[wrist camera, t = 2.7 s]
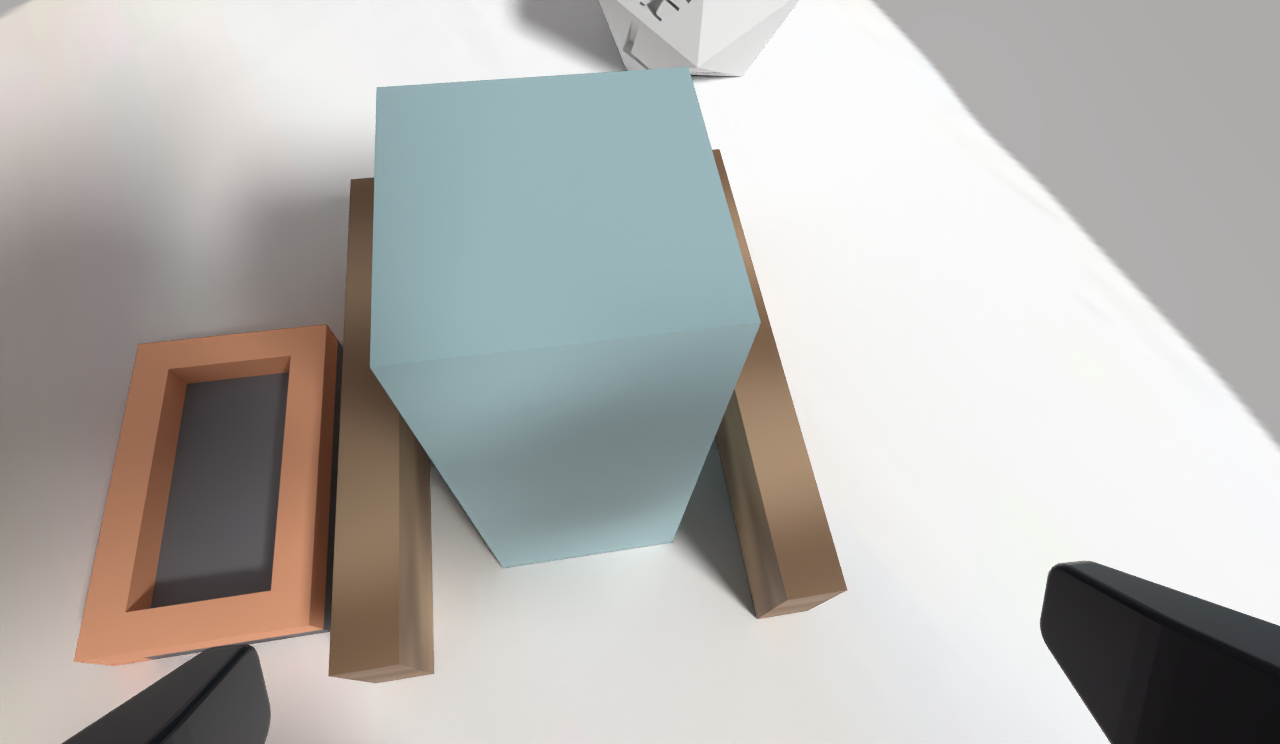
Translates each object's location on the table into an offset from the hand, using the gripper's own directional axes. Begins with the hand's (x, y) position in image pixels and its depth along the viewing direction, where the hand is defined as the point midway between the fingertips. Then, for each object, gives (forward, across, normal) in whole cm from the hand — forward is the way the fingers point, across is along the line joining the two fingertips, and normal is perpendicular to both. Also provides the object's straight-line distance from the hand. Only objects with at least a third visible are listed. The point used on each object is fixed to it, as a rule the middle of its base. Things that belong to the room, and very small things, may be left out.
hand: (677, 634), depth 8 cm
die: (+26, -5, -10) cm, 29 cm away
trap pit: (+13, +11, +4) cm, 18 cm away
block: (+13, +1, +4) cm, 13 cm away
